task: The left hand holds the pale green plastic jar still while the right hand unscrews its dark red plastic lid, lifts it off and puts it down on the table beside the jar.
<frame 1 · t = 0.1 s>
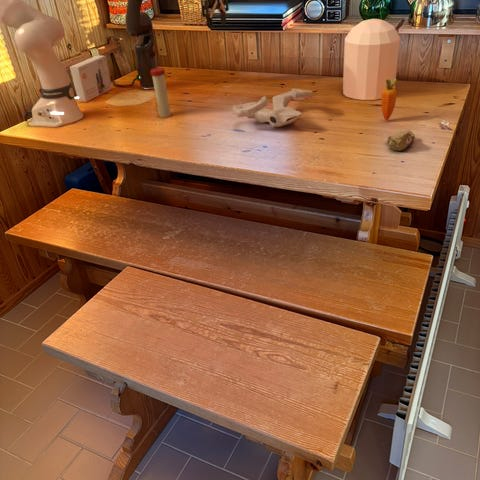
right hand: (217, 25, 186), 29 cm above the table, tool pointing down, fingers open, 8 cm apart
carrot: (386, 121, 166), on the table
lid: (157, 70, 180), point 18 cm above the table, screwed on, not yet turned
jar: (165, 115, 190), on the table
container: (368, 92, 193), on the table
skincare box: (96, 95, 222), on the table
animal horns: (279, 124, 171), on the table
rock: (401, 146, 148), on the table
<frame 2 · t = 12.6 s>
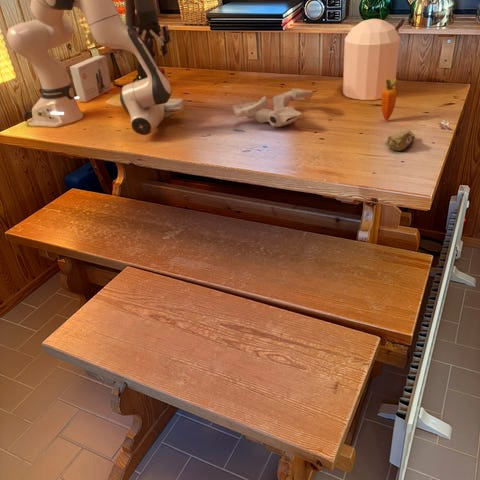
left hand: (163, 99, 188), 6 cm above the table, tool horizontal, fingers closed on jar, 5 cm apart
right hand: (154, 55, 177), 24 cm above the table, tool pointing down, fingers open, 7 cm apart
jar: (165, 115, 190), on the table, touching left hand
everything else where it was.
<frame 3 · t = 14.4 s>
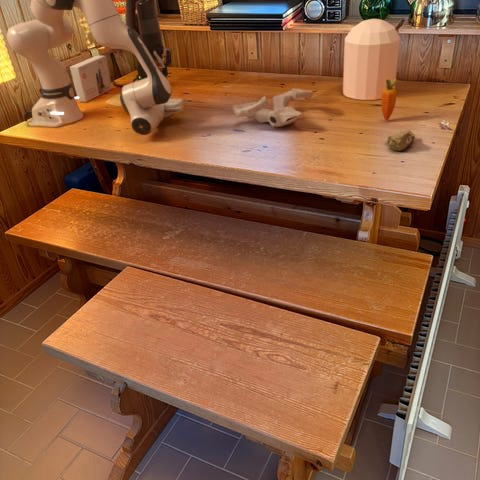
left hand: (163, 99, 188), 6 cm above the table, tool horizontal, fingers closed on jar, 5 cm apart
right hand: (158, 77, 182), 16 cm above the table, tool pointing down, fingers closed on lid, 5 cm apart
lid: (157, 70, 180), point 18 cm above the table, screwed on, not yet turned, touching right hand
jar: (165, 115, 190), on the table, touching left hand
everything else where it was.
when the right hand's fingers open (16 cm above the table, at t = 15.8 s): lid stays where it is, point 18 cm above the table.
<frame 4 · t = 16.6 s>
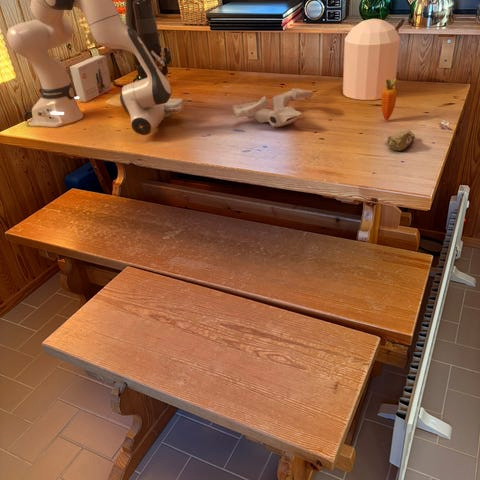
left hand: (163, 99, 188), 6 cm above the table, tool horizontal, fingers closed on jar, 5 cm apart
right hand: (155, 75, 181), 16 cm above the table, tool pointing down, fingers open, 7 cm apart
lid: (157, 70, 180), point 18 cm above the table, turned 59° so far, risen 0.2 cm, still on its thread
jar: (165, 115, 190), on the table, touching left hand
everything else where it was.
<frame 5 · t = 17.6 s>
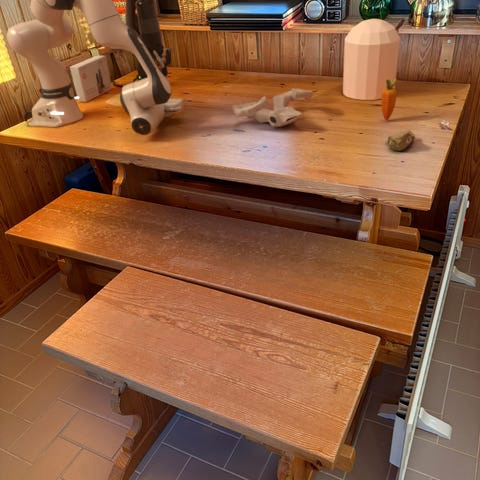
left hand: (163, 99, 188), 6 cm above the table, tool horizontal, fingers closed on jar, 5 cm apart
right hand: (158, 76, 182), 16 cm above the table, tool pointing down, fingers closed on lid, 5 cm apart
lid: (157, 70, 180), point 18 cm above the table, turned 59° so far, risen 0.2 cm, still on its thread, touching right hand
jar: (165, 115, 190), on the table, touching left hand
everything else where it was.
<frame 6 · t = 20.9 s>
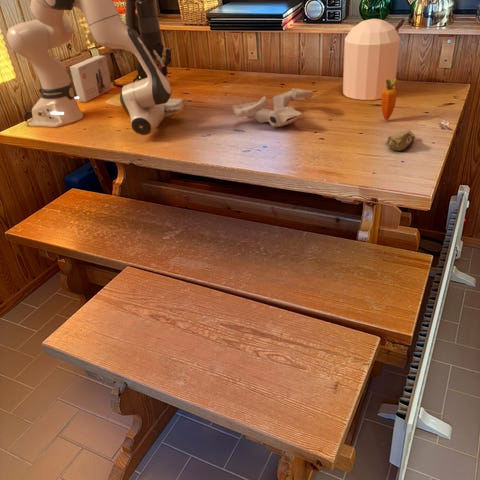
left hand: (163, 99, 188), 6 cm above the table, tool horizontal, fingers closed on jar, 5 cm apart
right hand: (158, 76, 181), 16 cm above the table, tool pointing down, fingers closed on lid, 5 cm apart
lid: (157, 69, 180), point 18 cm above the table, turned 118° so far, risen 0.4 cm, still on its thread, touching right hand
jar: (165, 115, 190), on the table, touching left hand
everything else where it was.
when the right hand's fingers open (0 cm above the table, at t = 27.9 s): lid drops 2 cm, point 1 cm above the table.
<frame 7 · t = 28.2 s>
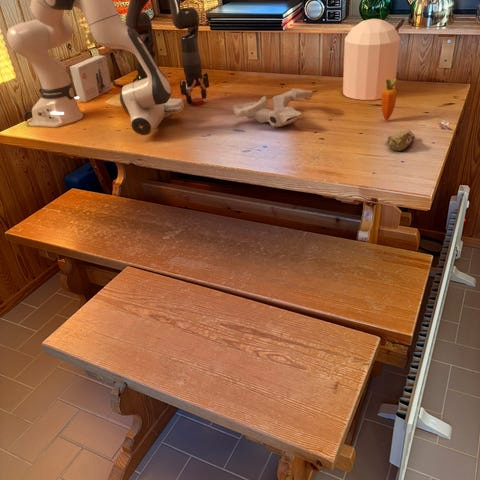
left hand: (162, 99, 188), 6 cm above the table, tool horizontal, fingers closed on jar, 5 cm apart
right hand: (197, 101, 199), 1 cm above the table, tool pointing down, fingers open, 7 cm apart
lid: (197, 100, 199), point 1 cm above the table, off its thread
jar: (165, 115, 190), on the table, touching left hand
everything else where it was.
when the left hand's fingers open (6 cm above the table, at t = 29.0 s): jar stays where it is, on the table.
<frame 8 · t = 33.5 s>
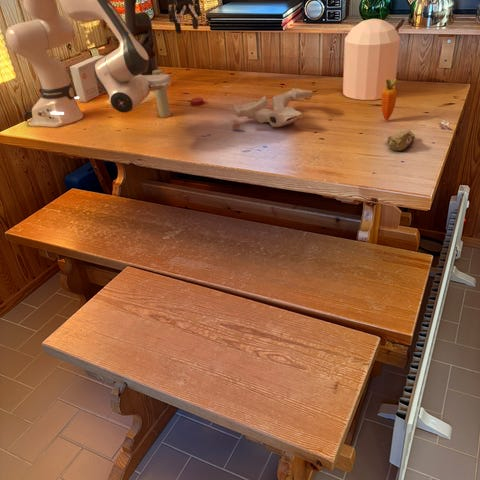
left hand: (148, 76, 170), 19 cm above the table, tool horizontal, fingers open, 8 cm apart
right hand: (187, 31, 183), 29 cm above the table, tool pointing down, fingers open, 8 cm apart
jar: (165, 115, 190), on the table
everything else where it was.
at the end: lid came off its thread; lid point 1.3 cm above the table; the left hand is holding nothing; the right hand is holding nothing; jar tilted 0°; jar moved 0.1 cm from its start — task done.
